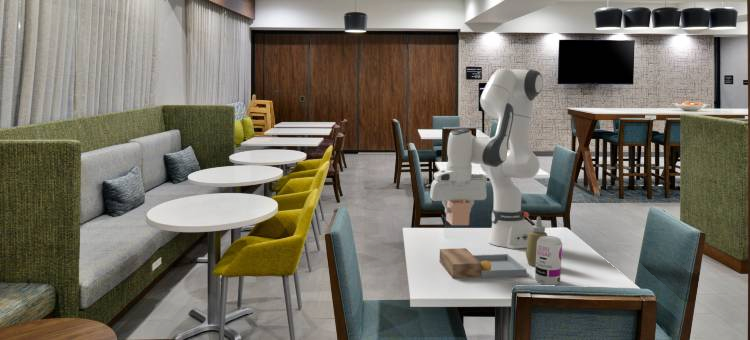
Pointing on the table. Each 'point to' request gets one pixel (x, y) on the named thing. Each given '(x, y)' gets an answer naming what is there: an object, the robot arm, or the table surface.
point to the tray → (501, 266)
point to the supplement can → (548, 260)
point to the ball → (485, 265)
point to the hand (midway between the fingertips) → (457, 212)
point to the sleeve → (458, 212)
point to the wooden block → (460, 263)
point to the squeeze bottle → (534, 241)
